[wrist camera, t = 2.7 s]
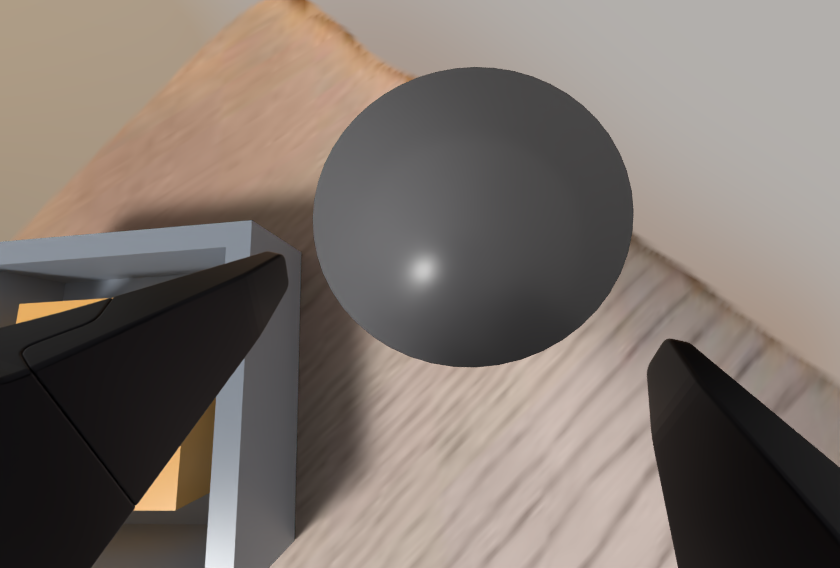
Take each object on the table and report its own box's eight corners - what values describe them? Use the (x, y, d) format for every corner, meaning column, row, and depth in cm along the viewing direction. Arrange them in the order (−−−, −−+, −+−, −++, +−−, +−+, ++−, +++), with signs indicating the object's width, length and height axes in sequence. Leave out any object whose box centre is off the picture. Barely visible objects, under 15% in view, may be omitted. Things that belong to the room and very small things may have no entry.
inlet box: (294, 540, 16) (231, 606, 12) (30, 537, 18) (-112, 595, 13) (301, 252, 19) (252, 220, 15) (70, 269, 20) (-38, 245, 16)
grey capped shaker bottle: (518, 359, 17) (659, 360, 5) (420, 363, 17) (310, 373, 5) (510, 263, 18) (608, 49, 5) (416, 270, 18) (315, 85, 6)
